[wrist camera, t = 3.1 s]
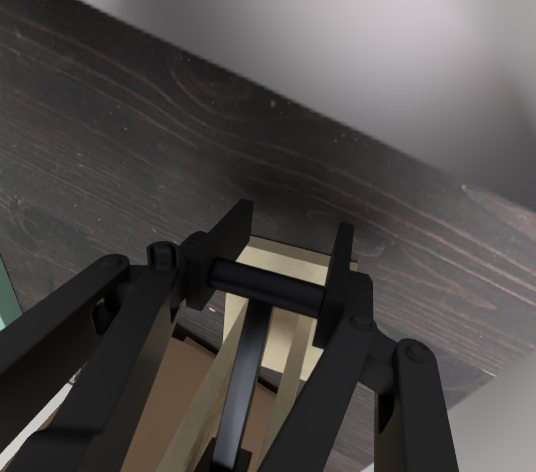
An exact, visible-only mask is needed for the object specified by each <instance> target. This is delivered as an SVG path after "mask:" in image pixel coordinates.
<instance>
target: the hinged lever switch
mask: <svg viewBox="0 0 536 472" xmlns="http://www.w3.org/2000/svg"><path fill="white" fill-rule="evenodd" d="M330 258H331V256H328V255H324V254H320V253H316V252H312V251H308V250H305V249H301V248H297V247H293V246H289V245H285V244H281V243H277V242H274V241H270V240H266V239H262V238H258V237H254V236H250V241H249V243H248V244H247V246H246V247H245V249H244V250H243V251H242V253H241V254H240V256H239V257H238V259H237V260H236V262H240V263H244V264H247V265H251V266H254V267H258V268H262V269H265V270H269V271H272V272H276V273H280V274H283V275H287V276H290V277H294V278H298V279H301V280H305V281H308V282H312V283H316V284H319V285H323V286H324V285H325V280H326V276H327V271H328V266H329V262H330ZM350 270H353V271H356V272H357V263H355V262H351V261H350ZM248 300H249V299H246V298H243V297H240V296H236V295H233V294H230V293H226V306H225V320H224V334H223V345H222V347H221V349H220V350H219V352H218V354H217V356H216V358H215V360H214V362H213V364H212V365H211V367H210V369H209V371H208V373H207V375H206V377H205V379H204V381H203V382H202V384H201V386H200V388H199V390H198V392H197V394H196V396H195V398H194V399H193V401H192V403H191V405H190V407H189V409H188V411H187V413H186V415H185V416H184V418H183V420H182V422H181V424H180V426H179V428H178V430H177V432H176V433H175V435H174V437H173V439H172V441H171V443H170V445H169V447H168V449H167V450H166V451H165V452H164V454H163V455H162V457H161V459H160V461H159V463H158V465H157V467H156V470H155V472H193V471H194V469H195V468H196V466H197V464H198V462H199V460H200V458H201V457H202V455H203V453H204V451H205V449H206V447H207V446H208V444H209V442H210V440H211V438H212V437H214V436H215V434H216V431H217V429H218V427H219V424H220V420H221V416H222V412H223V407H224V403H225V399H226V394H227V390H228V386H229V382H230V377H231V373H232V369H233V365H234V360H235V356H236V352H237V347H238V343H239V339H240V335H241V330H242V326H243V322H244V318H245V313H246V309H247V305H248ZM316 323H317V319H313V318H310V317H307V316H303V315H300V314H297V313H293V312H290V311H287V310H283V309H280V308H276V307H275V311H274V315H273V319H272V323H271V327H270V331H269V335H268V339H267V343H266V347H265V352H264V356H263V360H262V364H261V366H263V367H266V368H269V369H272V370H275V371H278V372H281V373H283V375H282V378H281V382H280V385H279V389H278V392H277V396H276V399H275V403H274V406H273V410H272V413H271V417H270V420H269V424H268V427H267V431H266V435H265V438H264V442H263V445H262V449H261V452H260V456H259V459H258V463H257V466H256V470H255V472H256V471H257V469H258V468H259V466H260V464H261V462H262V460H263V459H264V457H265V455H266V453H267V451H268V450H269V448H270V446H271V444H272V442H273V441H274V439H275V437H276V435H277V433H278V432H279V430H280V428H281V426H282V424H283V423H284V421H285V419H286V417H287V415H288V414H289V412H290V410H291V408H292V406H293V405H294V402H295V398H296V393H297V389H298V385H299V380H300V379H302V380H305V381H307V379H308V378H309V376H310V374H311V372H312V370H313V369H314V367H315V365H316V363H317V361H318V360H319V358H320V356H321V354H322V352H323V351H324V350H323V349H319V348H316V347H313V346H312V342H313V337H314V333H315V328H316Z"/></svg>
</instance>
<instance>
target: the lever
mask: <svg viewBox="0 0 536 472" xmlns="http://www.w3.org/2000/svg"><path fill="white" fill-rule="evenodd" d="M207 284H208V287H210V288H213V289H216V290H219V291H223V292H226V293H230V294H233V295H236V296H240V297H243V298H246V299H249V300H248V305H247V309H246V313H245V318H244V322H243V326H242V330H241V335H240V339H239V343H238V347H237V352H236V356H235V360H234V365H233V369H232V373H231V377H230V382H229V386H228V390H227V394H226V399H225V403H224V407H223V412H222V416H221V420H220V424H219V429H218V433H217V437H216V438H215V437H212V438H211V440H210V442H209V444H208V446H207V447H206V449H205V451H204V453H203V455H202V457H201V458H200V460H199V462H198V464H197V466H196V468H195V469H194V471H193V472H248V470H249V466H250V462H251V458H252V452H250V451H248V450H245V449H243V448H241V446H242V442H243V438H244V433H245V429H246V425H247V421H248V417H249V413H250V409H251V405H252V401H253V397H254V392H255V388H256V384H257V380H258V376H259V372H260V368H261V364H262V360H263V356H264V352H265V347H266V343H267V339H268V335H269V331H270V327H271V323H272V319H273V315H274V311H275V307H276V308H280V309H283V310H287V311H290V312H293V313H297V314H300V315H303V316H307V317H310V318H313V319H319V316H320V313H321V309H322V305H323V301H324V297H325V293H326V286H323V285H319V284H316V283H312V282H308V281H305V280H301V279H298V278H294V277H290V276H287V275H283V274H280V273H276V272H272V271H269V270H265V269H262V268H258V267H254V266H251V265H247V264H244V263H240V262H236V261H233V260H229V259H225V258H222V257H217V258H215V260H214V261H213V263H212V265H211V267H210V270H209V273H208V278H207Z"/></svg>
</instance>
